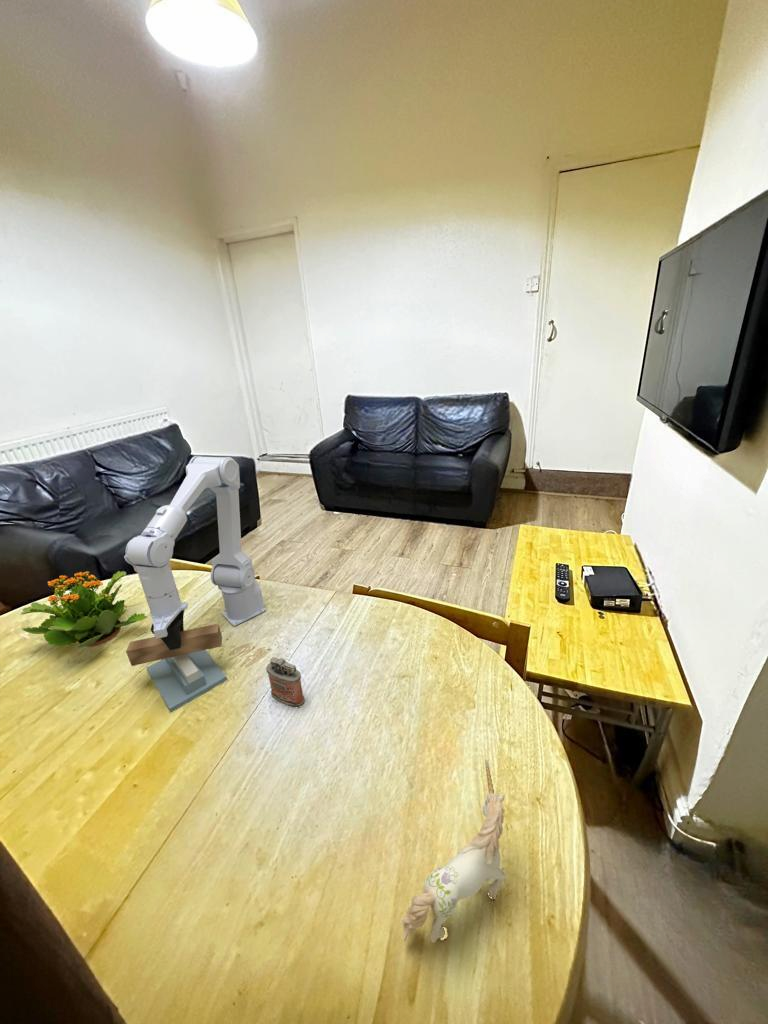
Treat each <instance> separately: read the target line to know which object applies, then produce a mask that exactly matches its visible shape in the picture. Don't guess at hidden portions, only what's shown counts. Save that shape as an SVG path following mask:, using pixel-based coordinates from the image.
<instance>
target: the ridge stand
mask: <svg viewBox="0 0 768 1024" xmlns="http://www.w3.org/2000/svg"><path fill="white" fill-rule="evenodd" d="M145 668H146V671H147V673H148V674H149V676H150V678H151V680H152V681H153V684H154V685H155V687H156V688H157V689H156V690H158V693H159V694H160V696H161V698H162V700H163V701H164V703H165V705H166V706H167V709H168V710H169V712H170V713H172V712H174V711H176V710H178V709H179V708H181V707H183V706H185V705H187V704H188V703H189V702H192V701H193V700H195V699H197V698H198V697H200V696H202V695H203V694H205V693H207V692H209V691H210V690H212V689H214V688H216V687H217V686H219V685H221V684H223V683H224V682H226V681H228V678H227V675H226V674H225V673H224V671H223V670H222V669H221V668H220V667H219V665H218V664H217V663H216V661H215V660H214V659H213V658H212V657H211V655H210V653H208V651H207V650H202V651H198V652H193V653H189V654H184V655H180V656H175V657H171V658H166V659H162V660H157V661H155V662H154V663H153V664H151V665H148V666H147V667H145Z"/></svg>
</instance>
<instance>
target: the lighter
mask: <svg viewBox="0 0 768 1024" xmlns="http://www.w3.org/2000/svg"><path fill="white" fill-rule="evenodd" d="M265 671H266V674H267V675H268V679H269V683H270V684H269V686H270V690H271V691H270V695H271V697H272V698H273V699H274V700H275V701H277V703H278V702H279V703H280V704H282V705H284V704H285V705H284V706H287V705H288V706H287V707H289V706H291V707H290V708H293V707H300V706H302V705H303V704H304V705H305V703H304V702H306V699H305V696H304V694H303V687H302V682H301V680H302V674H301V672H300V671H299V670H298V669H297V666H296V665H295V664H292V663H290V662H288V661H286V660H285V658H283V657H280V658H277V657H275V656H272V657H271V658H269V663H268V664H267V665H266V667H265ZM304 705H303V706H304ZM303 706H302V707H303ZM300 708H301V707H300Z"/></svg>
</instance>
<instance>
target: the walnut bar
mask: <svg viewBox="0 0 768 1024" xmlns="http://www.w3.org/2000/svg"><path fill="white" fill-rule="evenodd" d="M180 638H181V647H180V648H179V649H174V650H170V649H169V648H168V647H167V645H166V644H165V643H164V642H163V640H162V639H161V638H157V639H156V638H155V636H151V637H147V638H142V639H138V640H133V641H129V643H128V646H127V648H126V650H125V653H126V655H127V658H128V660H129V663H130V665H131V667H133V666H139V665H143V664H149V663H152V662H158V661H160V660H162V659H166V658H171V657H175V656H180V655H184V654H189V653H193V652H198V651H202V650H206V651H207V650H211V649H215V648H220V647H222V643H223V635H222V631H221V628H220V624H219V623H215V624H210V625H205V626H200V627H199V626H198V627H195V628H189V629H186V630H185V629H184V631H180Z"/></svg>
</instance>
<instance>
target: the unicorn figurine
mask: <svg viewBox="0 0 768 1024" xmlns="http://www.w3.org/2000/svg"><path fill="white" fill-rule="evenodd" d="M484 762H485V763H484V764H485V765H484V766H485V770H486V771H485V772H486V778H487V787H488V790H487V792H486V795H485V796H486V797H485V798H484V803H483V804H482V805H481V806H482V813H483V815H484V817H485V819H484V822H483V824H482V826H481V828H480V830H479V832H478V833H477V834H476V835H475V836H474V837H473V838H472V840H471V842H470V843H468V844H466V845H465V846H463V847H462V848H460V849H458V851H457V853H458V854H456V855H455V856H454V857H452V858H451V859H450V860H449V861H448V862H447V863H446V864H445V865H444V866H441V867H438V868H436V869H434V870H433V871H432V872H430V874H429V875H427V877H426V878H425V881H424V884H423V892H421V893H419V894H417V895H416V896H413V897H412V898H411V903H410V904H411V905H410V906H409V907H408V908H407V911H406V915H405V916H404V917H403V918H402V921H401V924H402V925H403V928H402V929H403V932H404V933H403V938H402V939H403V941H405V942H406V940H407V938H408V936H411V935H413V934H414V933H416V932H415V931H416V930H417V928H421V927H422V926H424V924H425V922H427V921H426V920H427V919H428V914H429V911H430V910H429V909H430V907H431V908H432V909H431V910H432V912H433V913H434V914H435V915H436V917H435V918H434V919H433V921H432V924H431V929H432V931H430V933H429V938H430V943H432V944H434V943H436V942H437V940H440V939H441V938H443V937H444V935H445V930H444V928H443V926H442V924H444V923H445V922H446V921H447V920H448V919H449V917H451V916H452V915H453V913H454V912H455V910H456V907H457V906H458V905H457V904H458V902H460V901H461V900H466V899H467V898H470V897H472V896H474V895H476V894H477V893H478V892H479V890H481V888H482V887H483V885H484V884H485V882H487V881H488V882H490V881H492V880H493V881H492V882H491V883H490V884H489V885H488V888H487V890H486V891H487V892H486V894H487V893H489V896H490V897H492V899H494V898H495V897H496V895H497V896H498V892H499V891H500V890H501V886H502V882H503V880H504V879H505V877H506V873H505V871H504V869H502V868H500V866H501V852H500V843H499V839H501V836H502V835H503V831H504V830H503V823H504V822H505V821H504V820H505V819H504V813H505V812H506V811H505V808H504V806H503V805H502V804H503V803H502V802H503V801H504V800H505V792H501V793H500V794H498V793H495V790H494V783H493V780H492V775H491V770H490V766H489V761H488V759H487V758H486V759H485V760H484ZM496 898H497V897H496ZM496 898H495V899H496ZM439 938H440V939H439Z"/></svg>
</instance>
